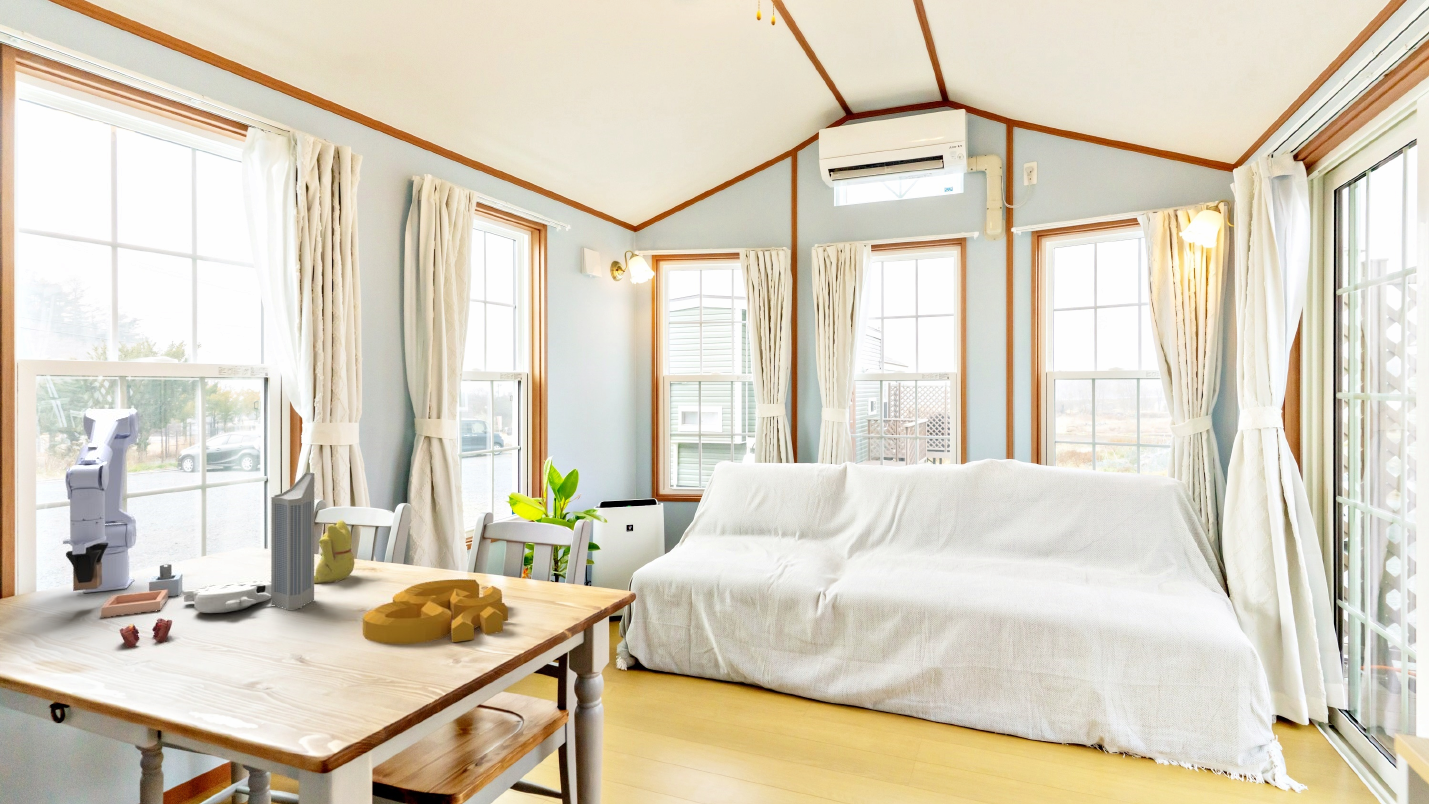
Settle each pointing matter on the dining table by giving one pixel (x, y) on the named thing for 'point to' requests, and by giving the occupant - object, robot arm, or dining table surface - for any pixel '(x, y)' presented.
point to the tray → (134, 603)
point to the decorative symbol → (436, 613)
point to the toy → (228, 596)
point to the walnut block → (94, 583)
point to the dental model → (159, 629)
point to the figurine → (335, 554)
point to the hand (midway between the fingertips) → (87, 579)
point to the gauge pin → (166, 572)
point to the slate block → (167, 584)
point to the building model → (293, 545)
